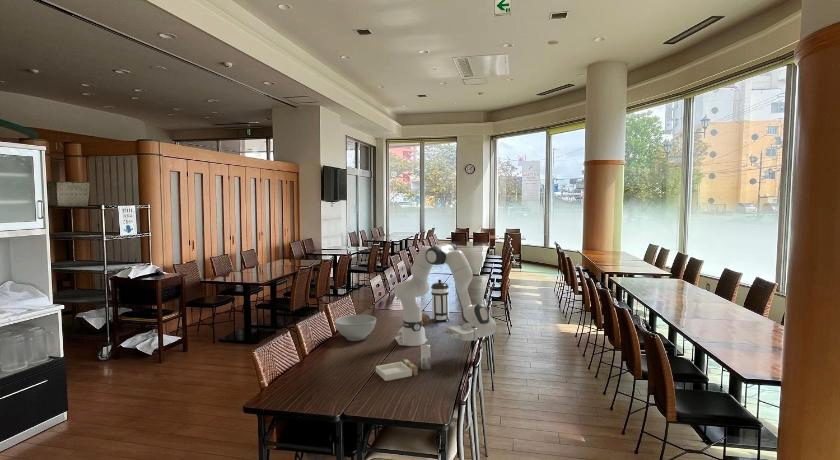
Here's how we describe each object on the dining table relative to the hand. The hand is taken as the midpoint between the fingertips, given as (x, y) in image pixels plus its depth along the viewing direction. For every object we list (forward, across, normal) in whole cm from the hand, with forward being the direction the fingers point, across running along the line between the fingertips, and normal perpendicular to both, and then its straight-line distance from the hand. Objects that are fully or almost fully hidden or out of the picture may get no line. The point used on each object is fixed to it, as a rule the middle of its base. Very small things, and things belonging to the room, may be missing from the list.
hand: (446, 334), depth 244 cm
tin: (-20, -79, +15) cm, 82 cm away
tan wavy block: (+21, -1, +16) cm, 26 cm away
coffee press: (-40, -84, +15) cm, 94 cm away
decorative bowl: (+28, -72, +14) cm, 78 cm away
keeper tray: (+30, -1, +16) cm, 34 cm away
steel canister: (+12, -1, +16) cm, 20 cm away
